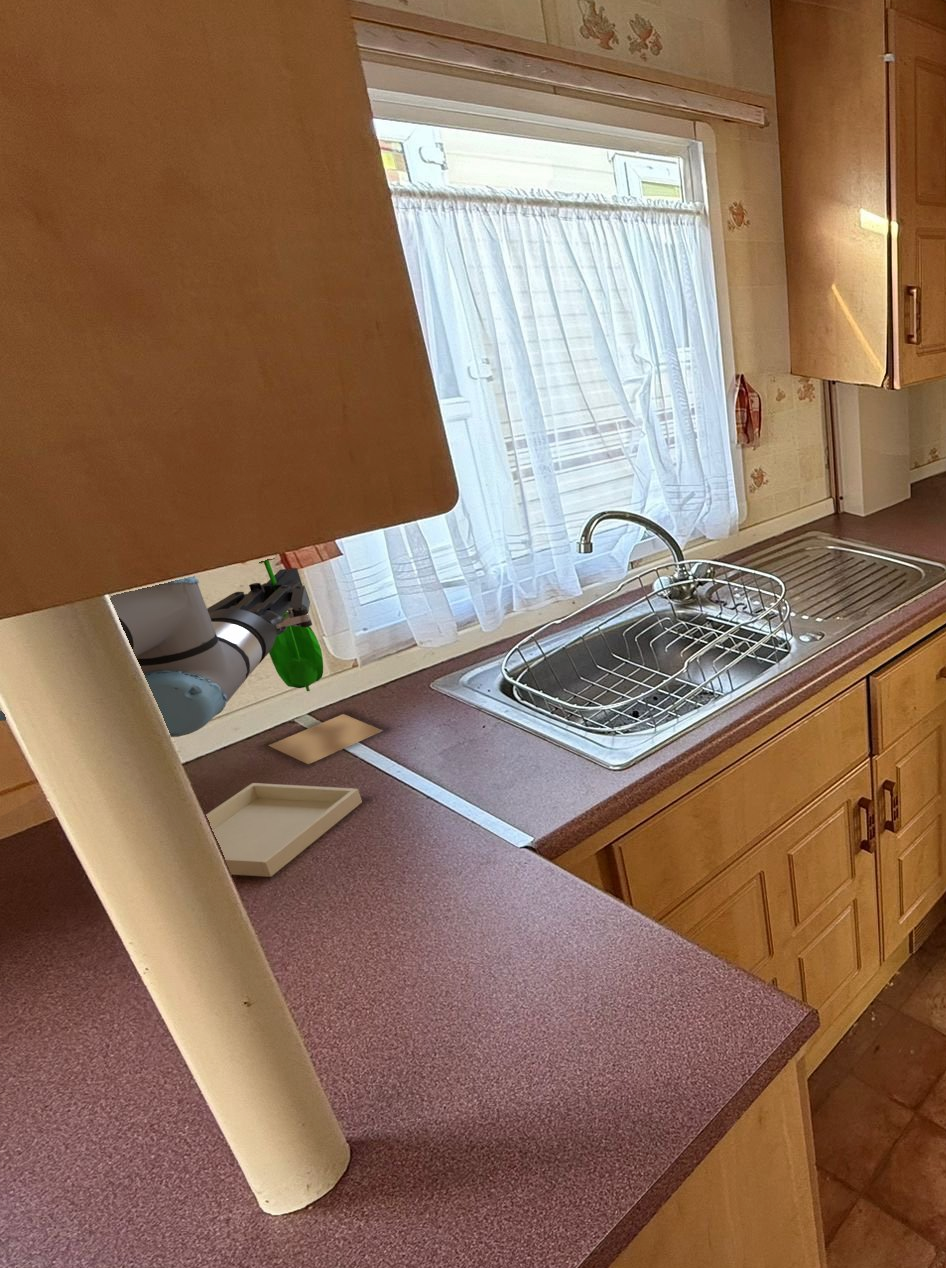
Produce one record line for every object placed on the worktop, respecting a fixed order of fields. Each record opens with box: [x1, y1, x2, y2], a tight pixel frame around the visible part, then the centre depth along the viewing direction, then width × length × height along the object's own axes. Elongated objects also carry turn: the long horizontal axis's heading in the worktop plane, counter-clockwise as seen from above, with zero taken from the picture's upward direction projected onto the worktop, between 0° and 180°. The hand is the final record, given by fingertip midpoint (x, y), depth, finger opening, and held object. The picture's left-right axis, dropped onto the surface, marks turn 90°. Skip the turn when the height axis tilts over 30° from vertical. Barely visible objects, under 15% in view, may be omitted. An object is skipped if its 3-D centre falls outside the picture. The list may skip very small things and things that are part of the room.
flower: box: [258, 558, 324, 692], centre depth 116 cm, size 9×8×30 cm
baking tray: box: [205, 782, 363, 878], centre depth 106 cm, size 14×14×3 cm
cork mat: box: [267, 713, 384, 765], centre depth 125 cm, size 10×10×1 cm
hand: (291, 577), depth 121 cm, fingers closed on flower
